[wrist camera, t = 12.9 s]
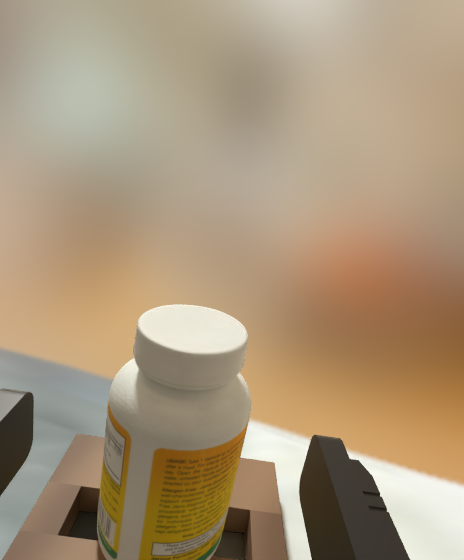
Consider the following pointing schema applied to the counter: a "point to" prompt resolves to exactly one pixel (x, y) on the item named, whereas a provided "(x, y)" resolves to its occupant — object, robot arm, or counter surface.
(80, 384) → the counter surface
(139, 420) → the supplement bottle
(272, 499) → the walnut trivet
